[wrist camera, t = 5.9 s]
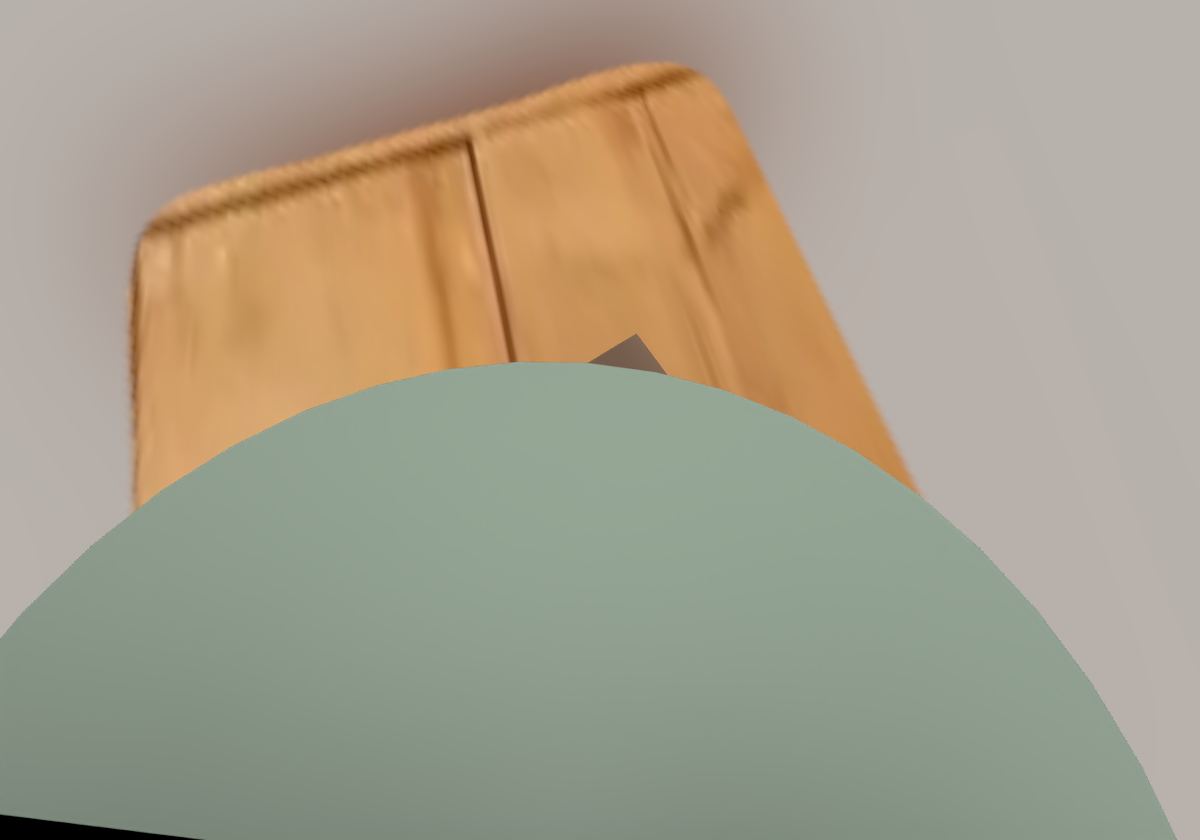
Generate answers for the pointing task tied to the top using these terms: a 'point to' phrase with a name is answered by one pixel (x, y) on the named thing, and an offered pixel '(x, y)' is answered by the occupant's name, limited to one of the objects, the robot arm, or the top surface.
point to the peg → (549, 640)
